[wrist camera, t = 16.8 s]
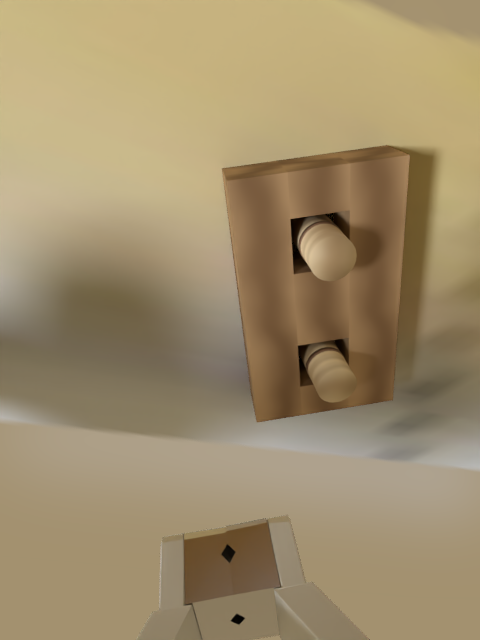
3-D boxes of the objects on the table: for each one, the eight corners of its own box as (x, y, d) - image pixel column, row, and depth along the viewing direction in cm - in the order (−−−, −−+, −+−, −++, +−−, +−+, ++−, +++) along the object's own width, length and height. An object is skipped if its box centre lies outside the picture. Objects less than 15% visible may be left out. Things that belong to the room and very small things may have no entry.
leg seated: (288, 248, 42) (309, 285, 35) (286, 208, 40) (307, 239, 34) (328, 242, 42) (356, 278, 36) (327, 202, 41) (357, 232, 34)
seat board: (251, 394, 50) (256, 422, 46) (222, 168, 38) (226, 181, 34) (376, 373, 51) (392, 399, 47) (386, 145, 39) (409, 154, 35)
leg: (294, 324, 46) (318, 371, 39) (330, 321, 47) (359, 367, 40) (293, 355, 48) (315, 405, 41) (327, 352, 49) (355, 400, 42)
